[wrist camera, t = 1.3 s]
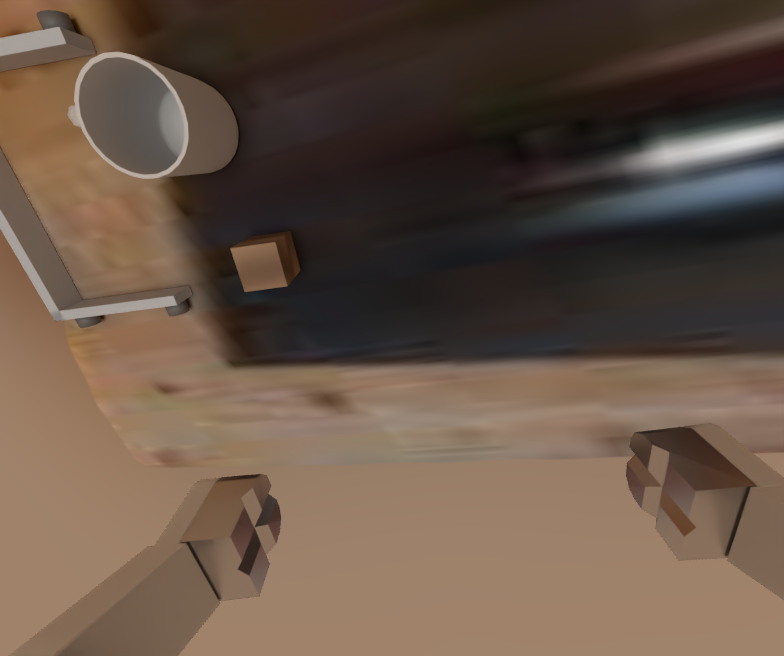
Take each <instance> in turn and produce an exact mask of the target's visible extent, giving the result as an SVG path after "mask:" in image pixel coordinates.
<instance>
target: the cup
mask: <svg viewBox="0 0 784 656" xmlns="http://www.w3.org/2000/svg"><path fill="white" fill-rule="evenodd" d="M74 101H75V105H72V106H69V110H68V115H67V116H68V117H69V119H70V120H71V121H72V123H73V124H74V125H75V126H77V127H79V128H82V131H83V133H84V134H85V136H86V137H87V139H88V141H89V142H90V144H91V146H92V147H93V148H94V149H95V150H96V151H97V153H98V154H99V155H100V156H101V157H102V158H103V159H104V160H105V161H107V162H108V163H109V164H111V165H112V166H113V167H114V168H116V169H117V170H119V171H122V172H124V173H126V174H128V175H130V176H134V177H139V178H143V179H149V178H162V177H172V176H182V175H193V174H203V173H211V172H215V171H217V170H220V169H222V168H224V167H225V166H226V165H227V164H228V163H229V162H230V161H231V160H232V158H233V156H234V155H235V153H236V149H237V146H238V132H239V131H238V126H237V122H236V118H235V116H234V114H233V111H232V109H231V107H230V106H229V104H228V103H227V101H226V100H225V99H224V97H223V96H222V95H221V94H220V93H218V92H217V91H216V90H215V89H214V88H213V87H211V86H209V85H207V84H205V83H204V82H202V81H200V80H198V79H195V78H193V77H190V76H188V75H185V74H182V73H180V72H177V71H174V70H172V69H169V68H166V67H164V66H161V65H158V64H156V63H153V62H150V61H148V60H145V59H142V58H140V57H137V56H134V55H130V54H126V53H122V52H110V53H103V54H100V55H98V56H96V57H94V58H92V59H90V61H89V62H88V63H87V64H86V65H85V66H84V67H83V68H82V69H81V71H80V74H79V76H78V79H77V81H76V85H75V95H74Z"/></svg>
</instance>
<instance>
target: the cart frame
mask: <svg viewBox="0 0 784 656" xmlns="http://www.w3.org/2000/svg"><path fill="white" fill-rule="evenodd" d="M37 17H38V19H39V21H40V24H41V26H42V28H43V30H40V31H35V32H29V33H24V34H19V35H14V36H9V37H4V38H0V72H2V71H7V70H12V69H18V68H23V67H28V66H34V65H39V64H44V63H50V62H55V61H60V60H66V59H71V58H76V57H82V56H87V55H92V54H97V53H96V51H95V48H94V46H93V43H92V41H91V39H90V38H88V37H85V36H83V35H80V34H77V33H76V31H75V29H74V26H73V24H72V22H71V19H70V17H69V15H68V14H66V13H63V12H59V11H51V10H47V11H40V12H38V13H37ZM0 229H1V230H2V232H3V234H4V235H5V237H6V239H7V241H8V242H9V244H10V246H11V247H12V249H13V251H14V252H15V254H16V256H17V257H18V259H19V261H20V263H21V264H22V266H23V268H24V269H25V271H26V272H27V274H28V276H29V278H30V280H31V281H32V283H33V285H34V286H35V288H36V290H37V291H38V293H39V295H40V297H41V298H42V300H43V301H44V303H45V305H46V307H47V308H48V310H49V312H50V313H51V315H52V317H53V319H54V320H55V321H61V320H69V319H75V320H76V322H77V324H78V326H79V327H80V328H85V327H89V326H93V325H95V324H98V323H100V322H101V321H102V320H101V318H100V316H99V315H107V314H114V313H122V312H130V311H137V310H145V309H152V308H160V307H165V308H166V310H167V312H168V315H169V316H177V315H180V314H183V313H186V312H187V311H189V307H188V304H187V302H186V299H187V298H188V297H190V296H191V295H193V294H192V292H191V289H190V287H189V286H183V287H176V288H168V289H161V290H154V291H146V292H139V293H132V294H124V295H117V296H110V297H102V298H95V299H88V300H82V298H81V296H80V294H79V293H78V291H77V289H76V287H75V285H74V283H73V282H72V280H71V278H70V276H69V274H68V272H67V270H66V269H65V267H64V265H63V263H62V261H61V259H60V257H59V256H58V254H57V252H56V250H55V248H54V246H53V244H52V243H51V241H50V239H49V237H48V235H47V233H46V232H45V230H44V228H43V226H42V224H41V222H40V220H39V219H38V217H37V215H36V213H35V211H34V209H33V207H32V206H31V204H30V202H29V200H28V198H27V196H26V194H25V193H24V191H23V189H22V187H21V185H20V183H19V181H18V180H17V178H16V176H15V174H14V172H13V170H12V169H11V167H10V165H9V163H8V161H7V159H6V157H5V156H4V154H3V152H2V150H1V148H0Z"/></svg>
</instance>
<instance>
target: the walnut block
mask: <svg viewBox="0 0 784 656" xmlns="http://www.w3.org/2000/svg"><path fill="white" fill-rule="evenodd" d="M230 249H231V252H232V255H233V258H234V261H235V264H236V267H237V270H238V273H239V276H240V279H241V282H242V285H243V288H244V291H245V292H248V291H255V290H263V289H270V288H278V287H285V286H288V285H289V284H290V283H291V281H292V280H293V279H294V278H295V277H296V275H297V274H298V273H299V272H300V271H301V270H300V266H299V262H298V258H297V254H296V250H295V246H294V242H293V239H292V235H291V231H287V232H281V233H274V234H267V235H260V236H253V237H250V238H248V239H246V240H245V241H243V242H241V243H239V244H237V245H236V246H234V247H232V248H230Z"/></svg>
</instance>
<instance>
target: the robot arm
mask: <svg viewBox="0 0 784 656" xmlns="http://www.w3.org/2000/svg"><path fill="white" fill-rule="evenodd" d="M629 448H630V449H631V450H632V451H633V452H634V454H635V455H634V456H633V457H632V458H631V459H630V460H629V461H628V462H627V469H626V477H627V481H628V486H629V489H630V491H631V493H632V495H633V497H634V499H635V500H636V502H637V503H638V505H639V506H640V507H641V509H642V510H644V511H646V512H647V513H649V514H651V515H652V516H654V517H656V530H657V531H658V533H659V534H660V535H661V537H662V538H663V540H664V541H665V542H666V544H667V545H668V547H669V548H670V549H671V550H672V552H673V553H674V555H675V556H676V558H677V559H678V560H680V561H681V560H697V559H716V558H728V559H727V561H728V562H730V563H731V564H733V565H734V566H736V567H737V568H739V569H740V570H741V571H743V572H744V573H746V574H747V575H749V576H750V577H752V578H753V579H755V580H756V581H757V582H759V583H760V584H761V585H763V586H764V587H766V588H767V589H769V590H770V591H772V592H773V593H774V594H776V595H777V596H779V597H780V598H782V599H783V600H784V478H783V477H782V476H781V475H780V474H778V473H777V472H776V471H775V470H773V469H772V468H771V467H770V466H768V465H767V464H766V463H765V462H763V461H762V460H761V459H760V458H758V457H757V456H756V455H755V454H753V453H752V452H751V451H750V450H748V449H747V448H746V447H744V446H743V445H742V444H741V443H739V442H738V441H737V440H736V439H734V438H733V437H732V436H731V435H729V434H728V433H727V432H726V431H724V430H723V429H722V428H721V427H719V426H717V425H714V424H712V423H707V424H699V425H691V426H684V427H676V428H667V429H659V430H651V431H642V432H634V434H633V435H632V436H631V438H630V444H629ZM270 488H271V484H270V482H269V479H268V477H267V475H263V474H257V475H244V476H232V477H222V478H215V479H203V480H200V481H198V482H197V483H195V484H194V485H193V487H192V488H191V490H190V491H189V493H188V494H187V496H186V498H185V499H184V501H183V502H182V504H181V505H180V507H179V508H178V510H177V512H176V513H175V515H174V516H173V518H172V519H171V521H170V522H169V524H168V525H167V527H166V529H165V530H164V532H163V533H162V535H161V536H160V538H159V540H158V541H157V543H156V544H155V546H150V547H146V548H145V549H144V550H143V551H141V552H140V553H139V554H137V555H136V556H135V557H134V558H132V559H131V560H130V561H129V562H127V563H126V564H125V565H123V566H122V567H121V568H120V569H118V570H117V571H116V572H115V573H113V574H112V575H111V576H109V577H108V578H107V579H106V580H104V581H103V582H102V583H100V584H99V585H98V586H97V587H95V588H94V589H93V590H92V591H91V592H89V593H88V594H87V595H85V596H84V597H83V598H81V599H80V600H79V601H78V602H76V603H75V604H74V605H72V606H71V607H70V608H69V609H67V610H66V611H65V612H64V613H62V614H61V615H60V616H58V617H57V618H56V619H55V620H53V621H52V622H51V623H50V624H48V625H47V626H46V627H45V628H43V629H42V630H41V631H40V632H38V633H37V634H36V635H34V636H33V637H32V638H30V639H29V640H28V641H27V642H25V643H24V644H23V645H22V646H20V647H19V648H18V649H16V650H15V651H14V652H13V653H11V654H10V655H9V656H178V655H179V654H180V652H181V651H182V650H183V649H184V648H185V646H186V645H187V644H188V643H189V641H190V640H191V639H192V638H193V636H194V635H195V634H196V633H197V632H198V630H199V629H200V628H201V627H202V625H203V624H204V623H205V622H206V620H207V619H208V618H209V617H210V615H211V614H212V613H213V612H214V611H215V609H216V608H217V607H218V606H219V604H220V602H219V601H225V600H234V599H241V598H250V597H258V596H260V593H261V589H262V586H263V584H264V580H265V577H266V574H267V571H268V568H269V565H270V563H269V561H268V558H267V555H266V554H267V553H268V552H269V551H270V550H271V549H272V548H273V547H274V546H275V545H276V543H277V540H278V536H279V533H280V525H281V514H280V507H279V504H278V502H277V500H276V499H275V498H273V497H272V496H271V495H269V494H268V493H269V490H270Z"/></svg>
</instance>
